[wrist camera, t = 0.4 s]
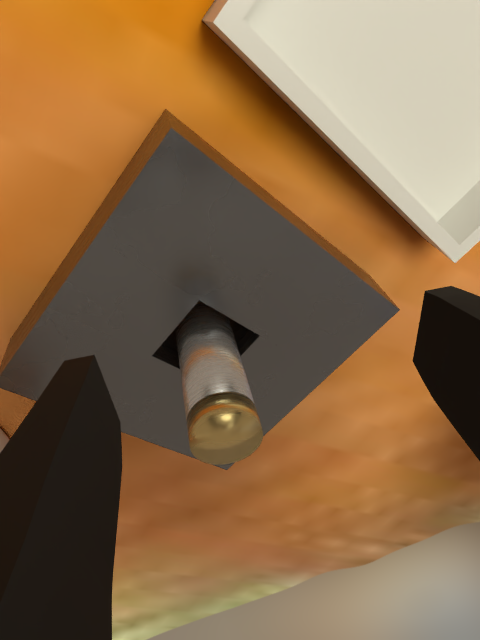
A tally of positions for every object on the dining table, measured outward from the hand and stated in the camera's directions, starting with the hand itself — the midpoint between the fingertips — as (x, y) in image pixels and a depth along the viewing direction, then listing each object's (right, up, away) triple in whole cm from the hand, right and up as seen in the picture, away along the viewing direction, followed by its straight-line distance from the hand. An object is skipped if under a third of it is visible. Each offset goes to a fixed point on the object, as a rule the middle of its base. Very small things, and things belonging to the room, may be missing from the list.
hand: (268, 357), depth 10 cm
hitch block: (-3, +1, +11) cm, 11 cm away
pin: (-3, +1, +11) cm, 11 cm away
